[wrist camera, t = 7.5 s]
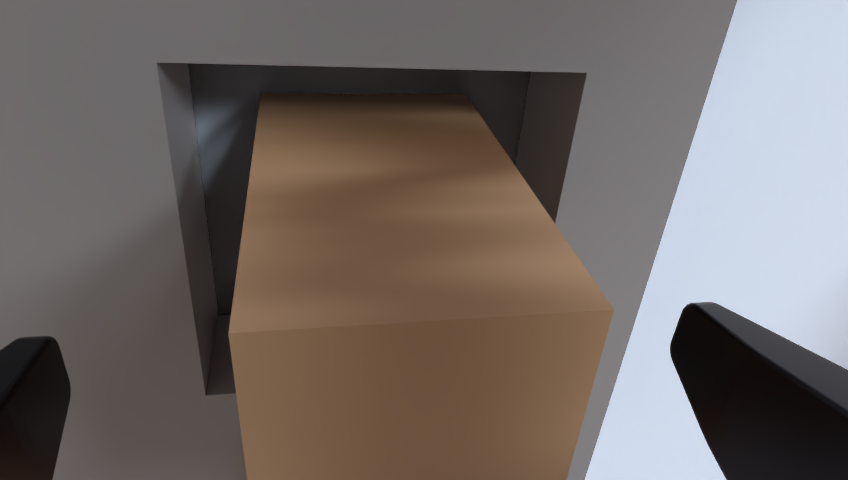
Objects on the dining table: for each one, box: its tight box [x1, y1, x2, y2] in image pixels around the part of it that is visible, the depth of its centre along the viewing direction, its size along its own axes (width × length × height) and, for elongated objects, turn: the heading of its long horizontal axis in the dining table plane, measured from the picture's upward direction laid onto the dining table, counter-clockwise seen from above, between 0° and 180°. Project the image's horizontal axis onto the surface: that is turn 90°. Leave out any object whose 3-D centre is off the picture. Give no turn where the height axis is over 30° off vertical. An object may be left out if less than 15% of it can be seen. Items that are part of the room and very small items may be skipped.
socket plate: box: [0, 0, 737, 480], centre depth 12 cm, size 22×14×3 cm, turn 86°
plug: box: [228, 93, 614, 480], centre depth 10 cm, size 4×4×7 cm
